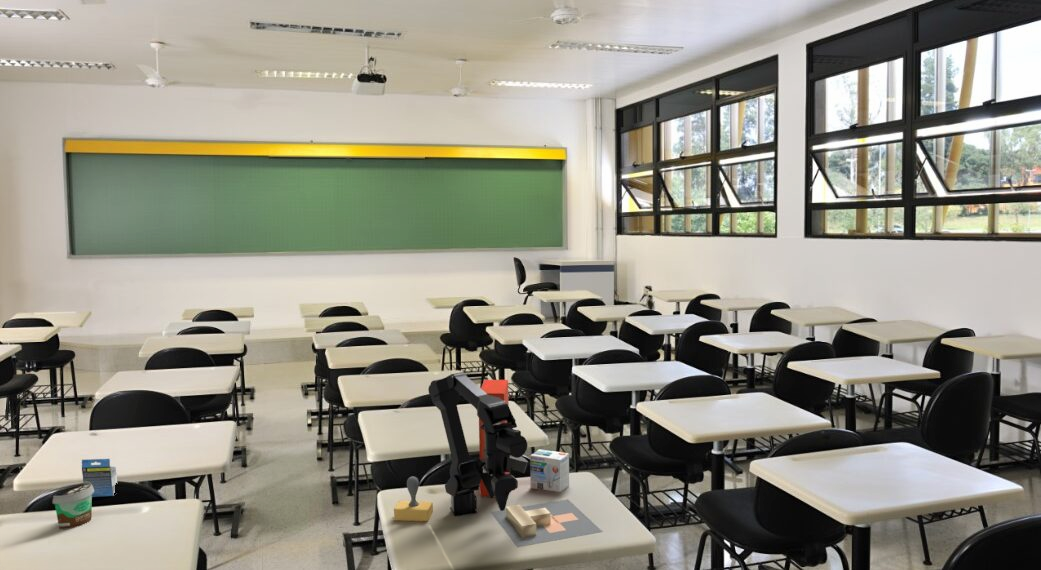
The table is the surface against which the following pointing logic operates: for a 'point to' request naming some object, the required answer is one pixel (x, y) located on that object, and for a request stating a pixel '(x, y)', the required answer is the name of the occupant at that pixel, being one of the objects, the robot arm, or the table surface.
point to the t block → (527, 519)
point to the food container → (74, 506)
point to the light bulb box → (549, 470)
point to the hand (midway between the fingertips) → (497, 503)
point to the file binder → (501, 391)
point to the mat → (562, 526)
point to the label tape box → (100, 476)
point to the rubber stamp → (413, 505)
